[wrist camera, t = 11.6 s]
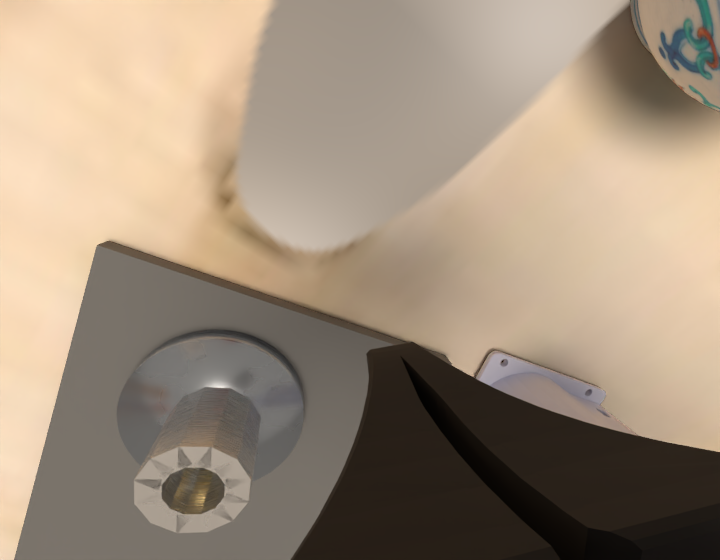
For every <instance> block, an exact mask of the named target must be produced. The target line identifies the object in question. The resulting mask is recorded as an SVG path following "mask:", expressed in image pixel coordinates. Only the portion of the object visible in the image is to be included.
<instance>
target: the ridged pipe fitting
mask: <svg viewBox="0 0 720 560" xmlns="http://www.w3.org/2000/svg"><path fill="white" fill-rule="evenodd" d="M260 422H261V416H260V414H259V412H258V411H257V409H256V407H255V406H254V404H253V402H252V401H251V399H249V398H248V397H246V396H244V395H242V394H240V393H238V392H237V391H235V390H233V389H231V388H215V387H204V388H202V389H200V390H197V391H195V392H192V393H190V394H188V395H185V396H183V397H182V398H181V400H180V401H179V402H178V404H177V405H176V406H175V408H174V409H173V410H172V411H171V413H170V414H169V416H168V417H167V419H166V421H165V423H164V425H163V427H162V428H161V430H160V432H159V434H158V436H157V438H156V440H155V441H154V443H153V445H152V447H151V449H150V451H149V452H148V454H147V456H146V458H145V460H144V462H143V464H142V465H141V467H140V469H139V471H138V473H137V475H136V477H135V478H134V504H135V505H136V506H137V507H138V509H139V510H140V511H141V512H142V513H143V515H144V516H145V517H146V518H147V519H148V521H149V522H150V523H152V524H155V525H157V526H160V527H162V528H165V529H168V530H170V531H173V532H176V533H196V532H208V531H211V530H213V529H215V528H218V527H220V526H222V525H224V524H227V523H229V522H231V521H233V520H234V519H235V518H236V516H237V515H238V514H239V513H240V512H241V510H242V509H243V508H244V507H245V506H246V504H247V503H249V499H250V492H251V486H252V480H253V473H254V467H255V461H256V454H257V448H258V442H259V432H260Z"/></svg>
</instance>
